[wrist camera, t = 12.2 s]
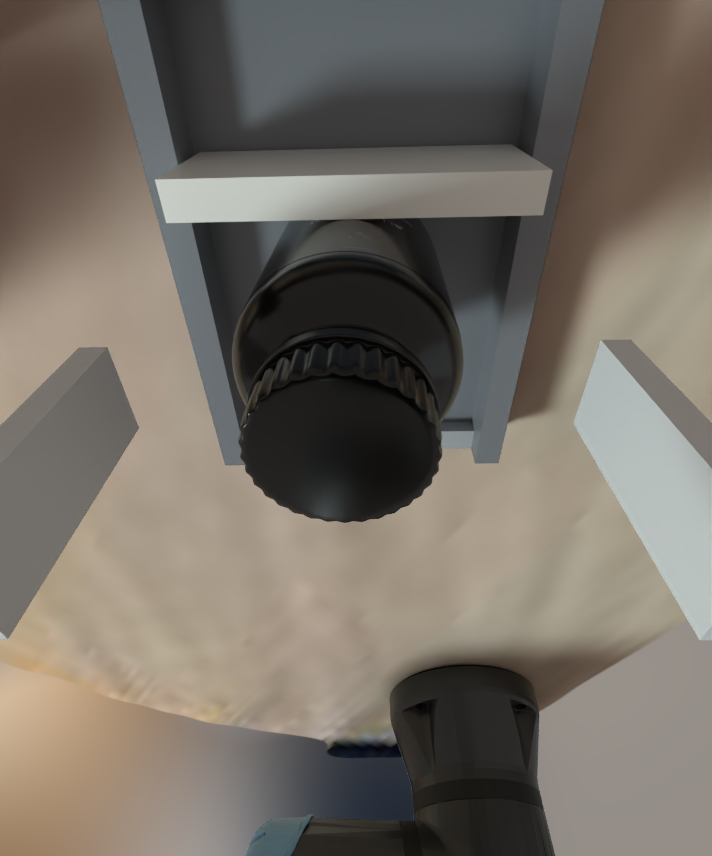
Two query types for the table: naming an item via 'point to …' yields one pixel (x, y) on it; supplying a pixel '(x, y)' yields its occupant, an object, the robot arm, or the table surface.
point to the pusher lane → (359, 128)
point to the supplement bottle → (347, 368)
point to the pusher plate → (355, 184)
